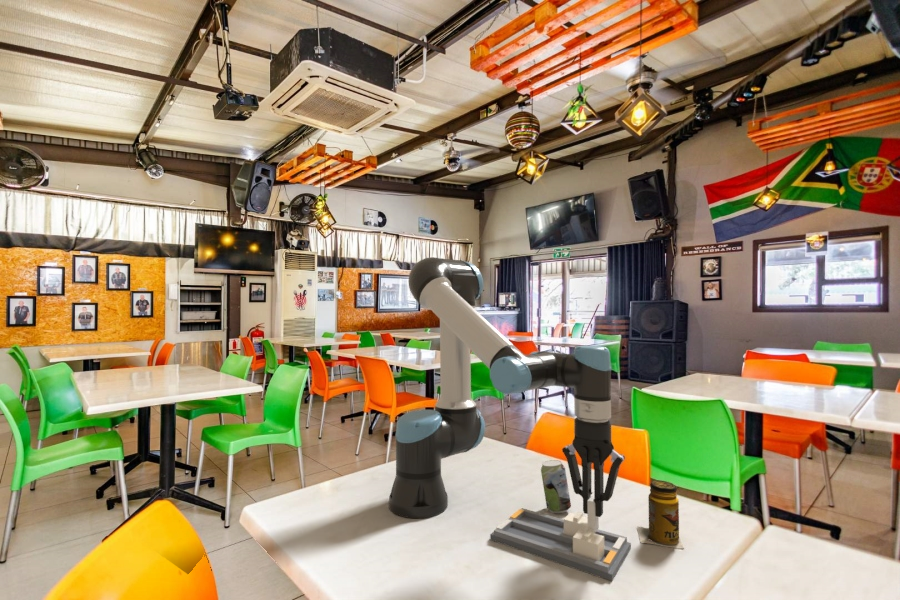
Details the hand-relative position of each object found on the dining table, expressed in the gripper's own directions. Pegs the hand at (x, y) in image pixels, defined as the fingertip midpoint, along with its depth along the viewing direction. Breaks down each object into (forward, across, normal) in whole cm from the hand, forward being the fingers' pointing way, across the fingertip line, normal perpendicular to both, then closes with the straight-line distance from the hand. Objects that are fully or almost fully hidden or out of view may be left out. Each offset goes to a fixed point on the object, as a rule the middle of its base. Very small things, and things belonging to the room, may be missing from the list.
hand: (593, 529), depth 95 cm
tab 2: (+2, -3, 0) cm, 4 cm away
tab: (+2, +1, -6) cm, 7 cm away
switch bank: (+4, -6, -3) cm, 8 cm away
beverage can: (+4, -13, +12) cm, 18 cm away
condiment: (+4, +11, +12) cm, 17 cm away
